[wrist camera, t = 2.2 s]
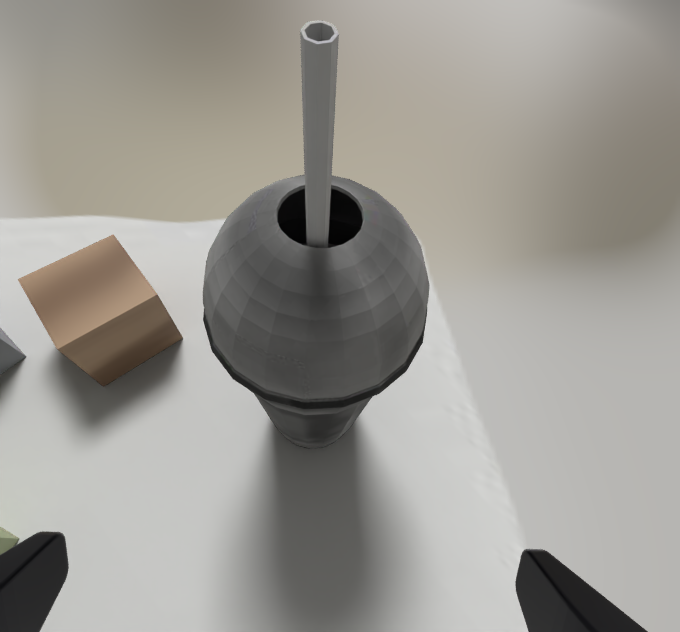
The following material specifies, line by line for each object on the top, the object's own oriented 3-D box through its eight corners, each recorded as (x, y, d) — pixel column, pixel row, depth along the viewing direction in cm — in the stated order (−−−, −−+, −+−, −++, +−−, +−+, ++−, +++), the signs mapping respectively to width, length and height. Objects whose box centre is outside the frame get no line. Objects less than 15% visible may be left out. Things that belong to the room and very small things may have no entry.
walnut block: (183, 338, 25) (157, 294, 21) (104, 387, 23) (57, 349, 19) (144, 285, 27) (113, 234, 22) (68, 326, 25) (17, 279, 20)
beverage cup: (378, 356, 25) (533, -74, 8) (374, 481, 21) (650, 189, 4) (261, 344, 25) (156, -120, 8) (236, 468, 21) (-75, 109, 4)
